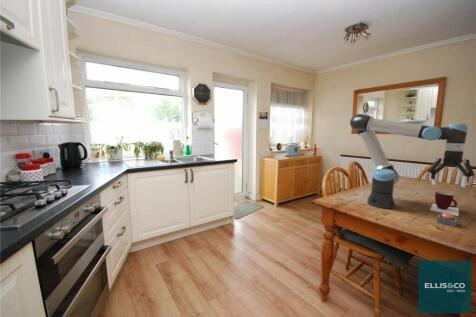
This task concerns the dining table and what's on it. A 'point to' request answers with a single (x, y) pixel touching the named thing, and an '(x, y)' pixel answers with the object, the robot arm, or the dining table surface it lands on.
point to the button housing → (447, 221)
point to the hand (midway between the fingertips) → (448, 185)
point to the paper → (450, 210)
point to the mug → (444, 200)
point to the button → (447, 216)
